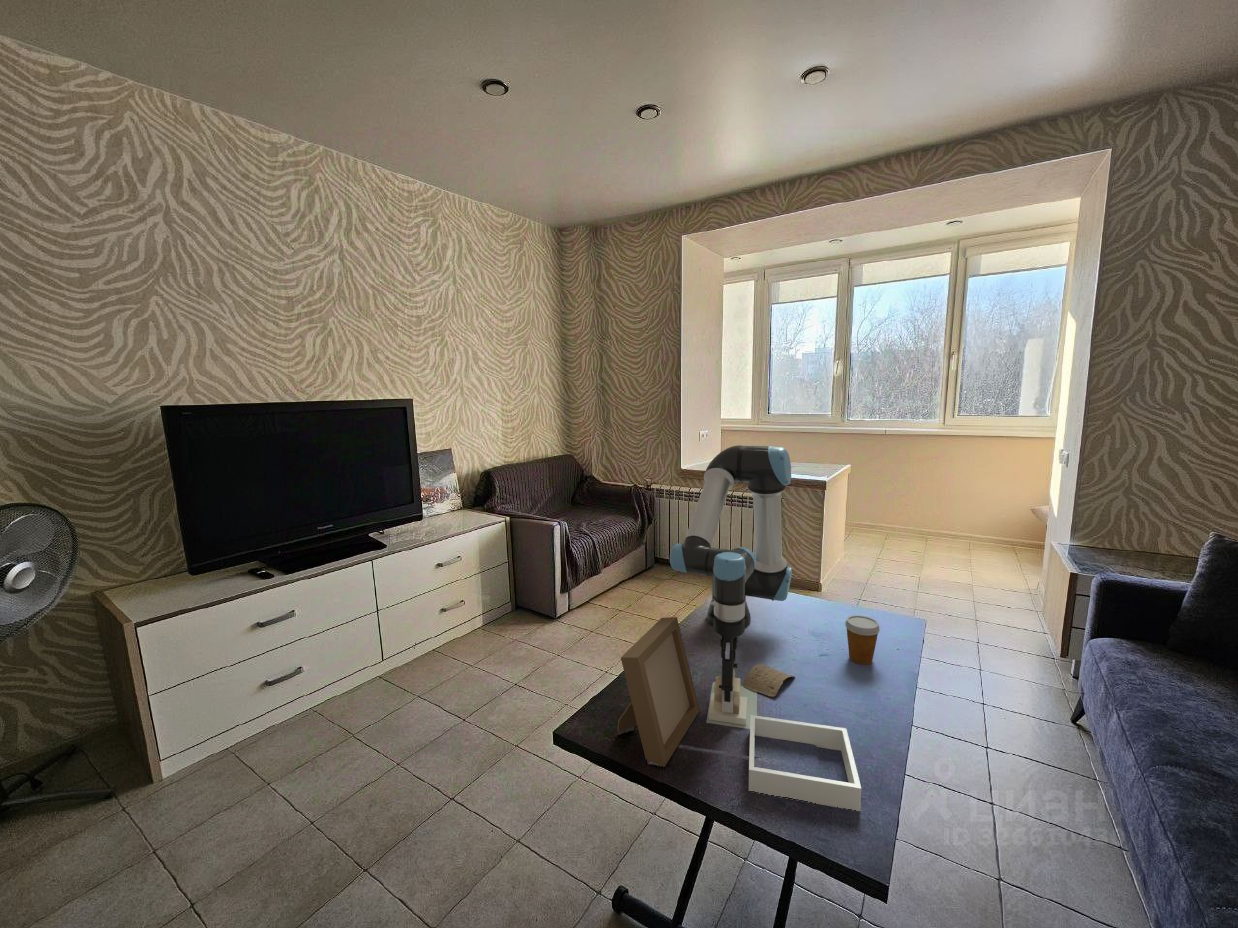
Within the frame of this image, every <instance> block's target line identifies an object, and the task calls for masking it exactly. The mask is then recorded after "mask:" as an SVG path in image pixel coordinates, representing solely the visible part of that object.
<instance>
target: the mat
mask: <svg viewBox="0 0 1238 928" xmlns="http://www.w3.org/2000/svg"><path fill="white" fill-rule="evenodd" d="M715 682H716V681H712V685H711V690H710V696H709V704H708V708H707V709H708V710H707V717H706V722H705V723H706V724H713V725H717V726H718V725H720V726H725V727H732V728H740V729H745V730H750V716H751V715H755V716H758V692H753V691H751V690H749V689H747V688H745V687H744V686H743V685H742V684H740V696H741V697H747V718H746V725H743V724H736V723H729V722H722V721H715V720H709V709H710V703H711V696H712V693H714V688H715Z"/></svg>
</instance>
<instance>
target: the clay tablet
mask: <svg viewBox="0 0 1238 928" xmlns="http://www.w3.org/2000/svg"><path fill="white" fill-rule="evenodd" d="M791 677H792V678H794V675H793V676H792V675H790V674H787V673H784V672H782V671H781V670H780V671H779V670H777V669H775V668H773V667H772V668H771V667H769V666H767V665H765V664H761V663H759V664H756V665H754V666H753V667H752V668H751V669H750V670H749V671H748V672H747V674H746V676H745V679H744V680H743V682H742V686H744V687H745V688H747V689H749V690H751V691H753V692H757V693H760V694H762V695H765V696H768V697H776V696H777V695H778V692H779V689H780V688H781V686H782V685H783V683H784V681H785V680H787V679H788V678H791Z"/></svg>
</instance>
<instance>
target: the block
mask: <svg viewBox="0 0 1238 928" xmlns="http://www.w3.org/2000/svg"><path fill="white" fill-rule="evenodd" d="M714 682H715V688H714V711H719V712H722V689H721V688H719V685H722V675H718V674H717V675H716V676H715V681H714ZM740 685H741V678H739V677H735V678H733V714H739V708H740ZM726 713H729V712H726Z"/></svg>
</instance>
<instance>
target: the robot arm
mask: <svg viewBox="0 0 1238 928" xmlns="http://www.w3.org/2000/svg"><path fill="white" fill-rule="evenodd" d="M703 481H704V484H703V487H702V490H701V492H700V496H699V499H698V501H697V503H696V507H695V509H694V513H693V516H692V518H691V521H690V524H689V526H688V529H687V533H686V535H685V538H684V541H683V543H680V542H679V543H675V544H673V546H671V550H670V555H669V563H670V567H671V568H672V569H673V571H677V572H681V573H685V574H695V575H702V576H707V577H708V576H709V577H711V584H712V585H711V595H712V596H711V600H710V603H709V607H708V609H707V613H706V616H707V617H706V620H707V622H708V623H709V624H710V625H712V626H713V631H714V632H715V633H716V634H717V635H720V641H719V643H720V644H719V646H720V659H721V676H722V685H719V688H721V689H722V712H729V713H733V678H736V669H738V663H736V651H737V646H738V645H737V644H738V637H740V636H742V635H743V634H744V633H745V631H746V630H745V629H746V628H747V627H749V626H750V624H751V619H752V617H751V616H752V615H751V612H750V610H749V607H748V603H747V599H746V598H747V597H751V598H759V599H764V600H771V601H779V602H783V601H786V600H787V598H788V596H789V591H790V587H791V580H792V575H793V568H792V567H791V566H790V565H789V566H788V562H787V559H786V558H784V557H783V542H782V539H783V537H782V533H783V532H782V494H783V493H784V492H785V490H786V489H787V486H788V485H790V484H791V482H792V464H791V458H790V454H789V452H788V451H787V449H786V448H785V447H783V446H773V445H769V446H768V445H739V444H738V445H733V446H730V447H727V448H725V449H724V450H723V449H722V451H721V452H719V453H718V454H716V456H714V458H713V459H712V460H711V461H710V462H709V464H708V465H707V467H706V469H705V472H704V474H703ZM735 483H746V484H747V490H748V491H749V492H751V494H752V504H753V505H752V506H753V510H752V511H753V533H754V551H752V550H751V549H750V548H748V547H745V546H737V547H734V548H733V549H727V548H726V549H725V548H719V547H718V548H717V547H712V544H713V542H714V537H715V535H716V532H717V528H718V524H719V522H720V520H721V519H720V518H721V516H722V511H723V509H724V506H725V504H726V503H725V502H726V500H727V497H728V493H729V490H731V489H732V488H733V487H734V485H735Z"/></svg>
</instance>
